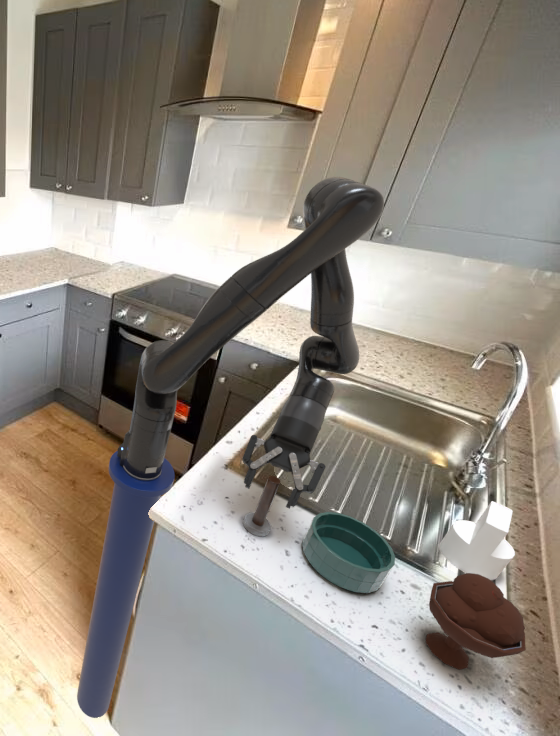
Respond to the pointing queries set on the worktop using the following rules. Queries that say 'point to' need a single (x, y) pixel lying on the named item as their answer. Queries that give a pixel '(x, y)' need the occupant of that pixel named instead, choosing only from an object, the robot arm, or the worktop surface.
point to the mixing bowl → (348, 552)
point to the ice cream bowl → (473, 621)
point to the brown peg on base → (262, 509)
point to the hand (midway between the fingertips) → (267, 497)
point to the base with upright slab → (480, 543)
